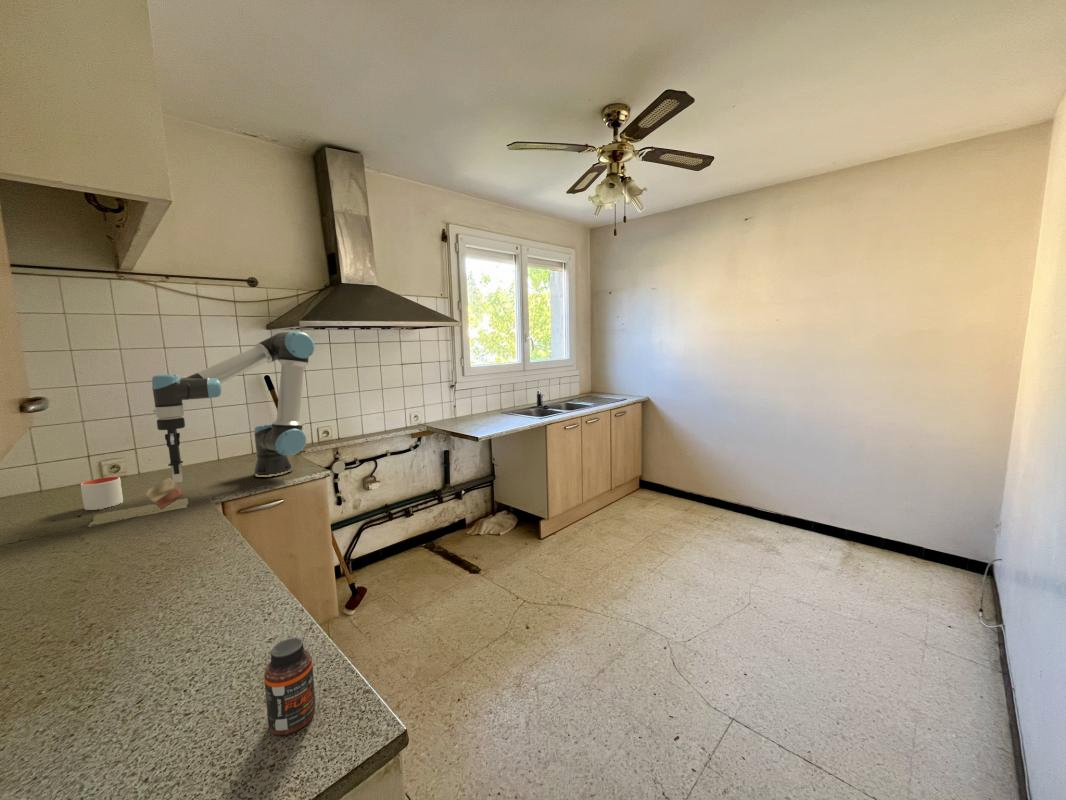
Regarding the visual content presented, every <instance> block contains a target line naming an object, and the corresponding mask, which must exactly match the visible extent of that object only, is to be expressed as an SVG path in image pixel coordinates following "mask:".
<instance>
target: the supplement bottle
mask: <svg viewBox="0 0 1066 800" xmlns="http://www.w3.org/2000/svg"><path fill="white" fill-rule="evenodd" d="M313 667H314V666H313V659H312V655H311V653H310V652H309V651H308V650H307V649H305V647H304V641H303V639H302V638H300V637H291V638H290V637H289V638H285V639H284V640H282V641H279V642H278V643H276V644H275V645H274V646H273V647H272V648H271V650H270V661H269V663H268V664H267V665H266V666H265V669H264V674H263V675H264V676H263V677H264V689H265V703H266V713H267V716H266V717H267V723H268V729H269V731H270V732H271V733H272V734H273V735H276V736H287V735H290V734H293V733H295V732H297V731H300V730H301V729H303V727H305V726H306V725H307V724H308V723H309V722H310V721H311V719H312V718H313V717H314V715H315V712H316V694H315V679H314V668H313Z"/></svg>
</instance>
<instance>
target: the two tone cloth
mask: <svg viewBox="0 0 1066 800" xmlns="http://www.w3.org/2000/svg"><path fill="white" fill-rule="evenodd" d="M145 495H146V497H148V498H149V499H150V501H152V503H155V504H156V505H157V506H158V507H159V508H160V509H163V508H165V507H166V506H168V505H170V504H171V503H173V502H175V501H176V500H178V499H181V498H184V497H183V496H184V491H183V490H182V489H181V488H180V487H179V486H178V485H177V483H173V479H172V478H171V477H169V478H166V479H165V480H163V481H161V482H160V483H158V484H156V485H154V486H153V487H151V488H149V489H147V492H146V494H145Z"/></svg>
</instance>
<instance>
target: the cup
mask: <svg viewBox="0 0 1066 800" xmlns="http://www.w3.org/2000/svg"><path fill="white" fill-rule="evenodd" d="M80 489H81V497H82V502H83V508H84V510H86V511H87V510H97V509H103V508H107V507H111V506H115V505H118V504H120V503H121V504H123V503H124V496H123V489H122V481H121V477H120V476H107V477H99V478H94V479H89V480H86V481H83V482H81V483H80ZM121 504H120V505H121ZM118 506H119V505H118ZM115 507H116V506H115ZM103 510H104V509H103Z"/></svg>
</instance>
